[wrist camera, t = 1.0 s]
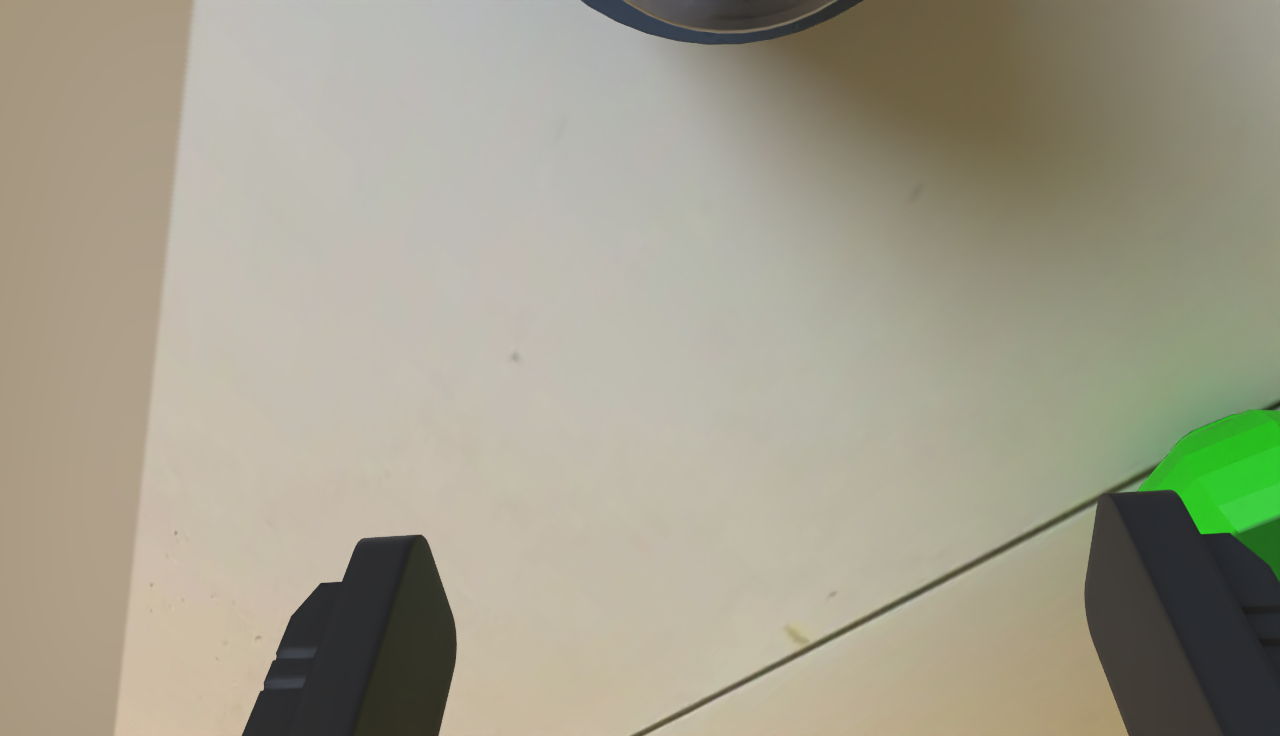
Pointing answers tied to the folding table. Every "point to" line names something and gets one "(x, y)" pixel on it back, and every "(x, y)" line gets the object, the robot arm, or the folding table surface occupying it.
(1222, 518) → the plastic bottle
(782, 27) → the grey stepped cylinder
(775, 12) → the silver cup
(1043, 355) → the folding table surface
